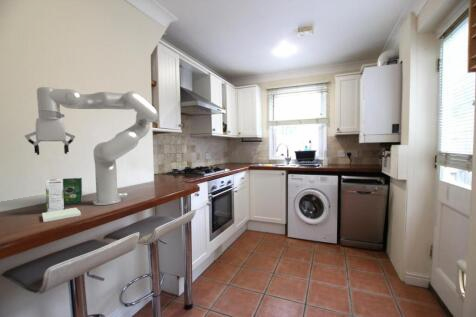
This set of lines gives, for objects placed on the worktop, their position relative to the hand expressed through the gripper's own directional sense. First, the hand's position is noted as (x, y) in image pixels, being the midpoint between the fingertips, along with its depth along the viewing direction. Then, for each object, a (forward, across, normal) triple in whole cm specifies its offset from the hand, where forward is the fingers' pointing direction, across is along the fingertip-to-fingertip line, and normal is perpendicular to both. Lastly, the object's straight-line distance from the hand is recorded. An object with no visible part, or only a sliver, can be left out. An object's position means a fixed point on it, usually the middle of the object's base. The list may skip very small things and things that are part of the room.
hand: (52, 154), depth 100 cm
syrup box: (+26, 0, 0) cm, 26 cm away
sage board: (+26, -1, +11) cm, 28 cm away
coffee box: (+26, -8, -12) cm, 30 cm away
